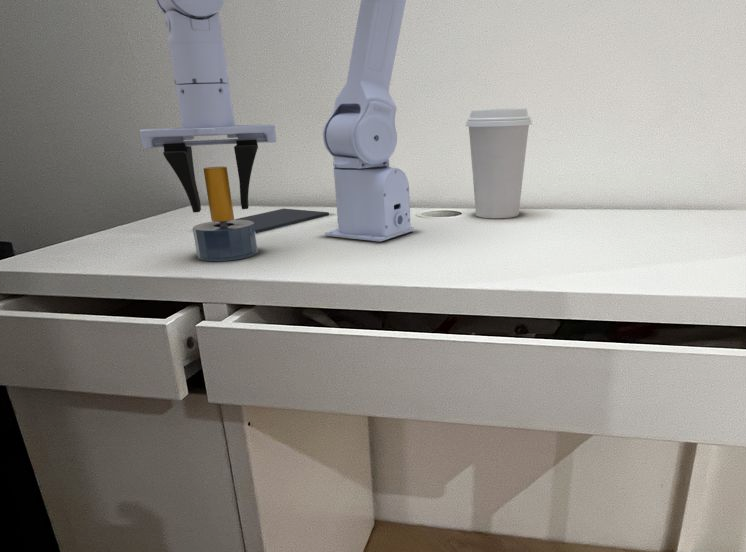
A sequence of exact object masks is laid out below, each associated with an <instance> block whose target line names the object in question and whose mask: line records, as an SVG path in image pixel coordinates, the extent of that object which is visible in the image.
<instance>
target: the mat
mask: <svg viewBox="0 0 746 552" xmlns="http://www.w3.org/2000/svg"><path fill="white" fill-rule="evenodd" d="M329 215H330V212H329V211H318V210H306V209H293V208H279V209H276V210H271V211H265V212H262V213H257V214H253V215H252V214H251V215H247V216H244V217H239V218H234V219H233V220H249V221H252V222H254V226H255V234H257V233H261V232H265V231H266V232H267V231H269V230H274V229H277V228H281V227H286V226H290V225H294V224H297V223H301V222H306V221H310V220H313V219H318V218H322V217H325V216H329Z"/></svg>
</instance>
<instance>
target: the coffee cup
mask: <svg viewBox="0 0 746 552" xmlns="http://www.w3.org/2000/svg"><path fill="white" fill-rule="evenodd" d="M531 125H533V121H532V119H531V116H530V115H529V113H528V109H527V108H492V109H491V108H489V109H471V111H470V114H469V117H468V118H467V120H466V123H465V127H468V135H469V145H470V146H469V147H470V157H471V169H472V171H471V173H472V184H473V195H474V197H473V198H474V207H475V216H476V217H478V218H483V219H510V218H515V217H518V216H519V215H520V208H521V207H520V206H521V197H522V189H523V179H524V169H525V161H526V153H527V143H528V135H529V128H530V126H531Z"/></svg>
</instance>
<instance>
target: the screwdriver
mask: <svg viewBox="0 0 746 552" xmlns="http://www.w3.org/2000/svg"><path fill="white" fill-rule="evenodd" d="M228 173H229V172H228V167H227V166H208V167H203V174H204V181H205V188H206V194H207V201H208V208H209V214H210V220H211V222H212V221H214V222H219V223H220V227H226V226H228V224H227V221H230V220H234V219H235V214H234V207H233V202H232V195H231V194H232V193H231V187H230V180H229V179H230V178H229V174H228Z"/></svg>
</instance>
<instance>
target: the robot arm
mask: <svg viewBox="0 0 746 552" xmlns="http://www.w3.org/2000/svg"><path fill="white" fill-rule="evenodd" d="M154 2H155V4H156V6H157V8H158V9H159V10H160V12H161V13H162V14H163V15H164V18H165V19H164V20H165V26H166V30H167V36H168V37H167V43H168V51H169V56H170V62H171V68H172V69H171V70H172V73H173V74H172V75H173V80H174V81H173V82H174V85H175V93H176V98H177V104H178V111H179V116H180V123H181V127H170V128H169V127H167V128H147V129H145V128H144V129H140V130H139V135H140V141H141V142H140V143H141V147H142V149H154V148H163V152H162V154H163V156H164V159H165V160H166V161H167V163H168V164H169V166H170V167H171V169H172V170H173V172H174V173H175V175H176V176H177V178H178V180H179V181H180V183H181V185H182V187H183V189H184V191H185V193H186V195H187V198H188V201H189V203H190V206H191V210H192V213H200V212H201V210H202V205H201V199H200V194H199V191H198V186H197V182H196V175H195V169H194V168H195V167H194V159H193V150H192V149H193V148H192V147H196V146H214V145H215V146H216V145H234V146H233V149H234V155H235V162H236V168H237V175H238V182H239V200H240V206H241V210H249V208H250V207H249V192H250V191H249V190H250V181H251V175H252V171H253V166H254V162H255V159H256V155H257V152H258V149H259V145H258V144H259V143H267V144H269V143H277V133H276V125H275V124H274V123H270V124H242V125H241V124H239V125H237V124H236V123H235V115H234V107H233V101H232V100H233V99H232V92H231V86H230V79H229V78H230V77H229V72H228V71H229V70H228V63H227V57H226V48H225V43H224V41H225V40H224V37H223V33H222V26H221V17H220V12H219V11H221V10H222V8H223V6H224V4H225V2H226V1H225V0H154ZM406 2H407V0H360V4H359V9H358V15H357V22H356V26H355V31H354V38H353V43H352V49H351V54H350V61H349V65H348V72H347V78H346V82H345V84H344V86H343V87H342V89H341V90H340V92H339V93H338V95H337V97H336V98H335V101H334V107H333V110H332V113H331V114H330V116H329V117H328V119H327V120H326V121H325V123H324V126H323V130H322V140H323V144H324V147H325V149H326V151H327V152H328V153H329V155H331V156H332V158H333V161H332V167H333V178H334V189H335V190H334V191H335V203H336V215H337V217H336V218H337V227H338V228H335V229H332V230H328V231H325V232H324V236H326V237H334V238H343V239H353V240H362V241H363V240H364V241H371V242H384V241H387V240H390V239H392V238H393V239H394V238H396V237H399V236H402V235H405V234H408V233H411V232H413V231H415V228H414V226H411V202H410V199H411V198H410V185H409V179H408V177H407V174H406V173H405V171H403V170H402V169H401V168H397V167H391V166H390V158H391V157H392V155H394V152H395V150H396V147H397V142H398V132H397V128H396V127H397V126H396V113H397V105H396V104H395V102H394V99H393V98H392V96H391V94H390V91H389V90H390V87H391V86H390V85H391V81H392V75H393V69H394V65H395V59H396V54H397V50H398V44H399V38H400V33H401V27H402V22H403V19H404V18H403V17H404V12H405V9H406V8H405V6H406ZM210 136H227V137H226V138H225V139H205V140H204V139H203V140H201V139H200V140H194V139H195V137H210Z"/></svg>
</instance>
